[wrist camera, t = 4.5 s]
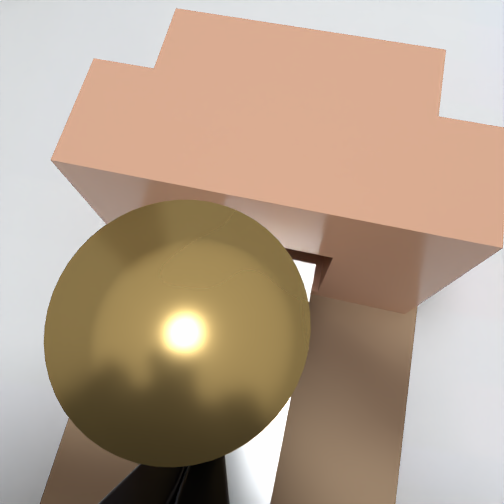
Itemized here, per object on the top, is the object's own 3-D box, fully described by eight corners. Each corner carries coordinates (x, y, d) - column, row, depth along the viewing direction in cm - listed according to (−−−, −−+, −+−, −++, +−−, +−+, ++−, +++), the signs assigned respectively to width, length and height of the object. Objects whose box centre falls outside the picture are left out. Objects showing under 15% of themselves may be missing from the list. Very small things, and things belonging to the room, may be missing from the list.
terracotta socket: (404, 314, 16) (503, 247, 9) (134, 256, 17) (50, 159, 10) (419, 190, 18) (512, 59, 11) (171, 144, 19) (118, -1, 12)
